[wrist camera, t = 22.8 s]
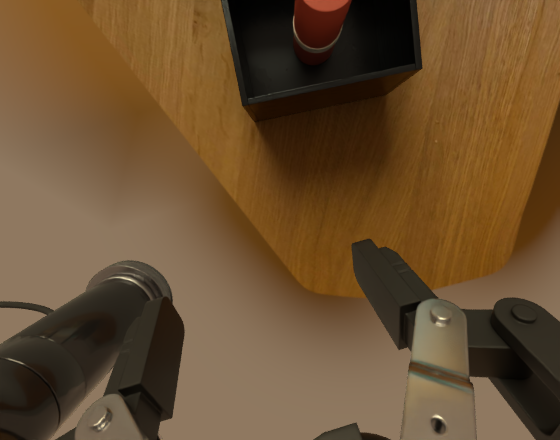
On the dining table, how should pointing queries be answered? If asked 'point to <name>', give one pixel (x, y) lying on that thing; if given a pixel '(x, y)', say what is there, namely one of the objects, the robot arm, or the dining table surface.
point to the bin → (330, 74)
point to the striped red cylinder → (317, 28)
